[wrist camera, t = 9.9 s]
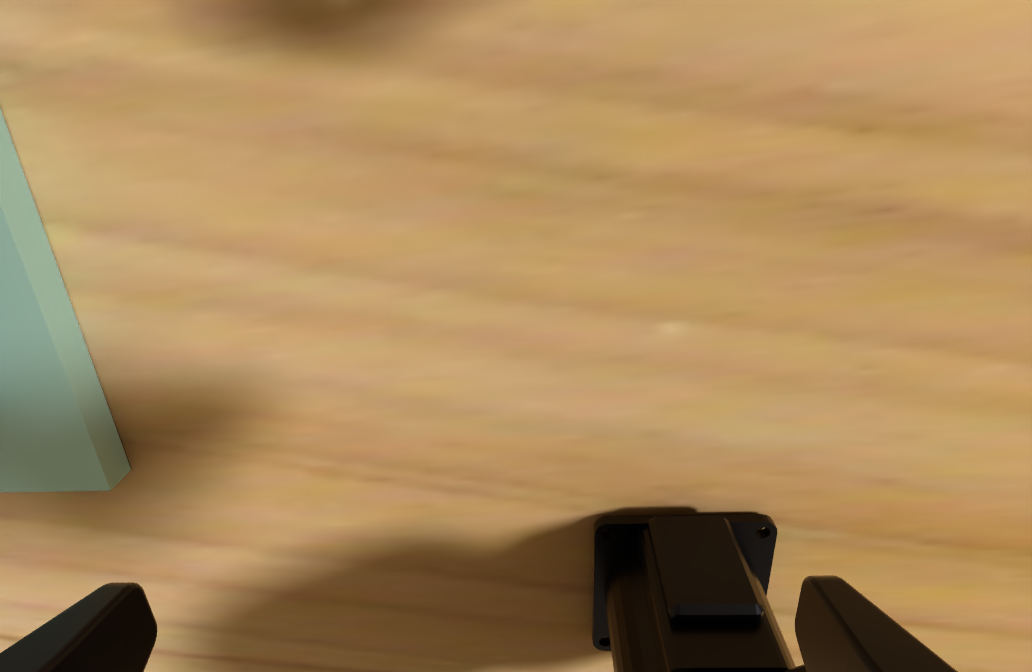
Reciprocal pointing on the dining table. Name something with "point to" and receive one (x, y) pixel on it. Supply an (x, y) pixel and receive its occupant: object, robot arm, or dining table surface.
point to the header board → (45, 362)
